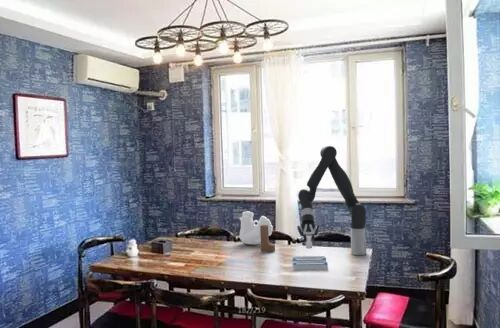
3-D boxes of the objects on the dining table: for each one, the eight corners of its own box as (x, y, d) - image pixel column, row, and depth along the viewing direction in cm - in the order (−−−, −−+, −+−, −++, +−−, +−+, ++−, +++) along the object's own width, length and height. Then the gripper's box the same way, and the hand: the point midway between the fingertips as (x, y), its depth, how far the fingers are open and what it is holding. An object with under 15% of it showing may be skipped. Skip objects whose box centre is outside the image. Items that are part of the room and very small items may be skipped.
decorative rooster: (236, 245, 306) (235, 212, 305) (245, 241, 321) (243, 209, 320) (268, 248, 297) (266, 213, 295) (275, 242, 311) (274, 210, 310)
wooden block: (275, 250, 288) (274, 225, 287) (273, 252, 284) (272, 226, 283) (263, 249, 292) (262, 224, 291) (260, 251, 288) (259, 225, 287)
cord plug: (312, 246, 249) (311, 232, 249) (312, 248, 245) (312, 233, 245) (305, 246, 249) (305, 232, 249) (306, 248, 246) (305, 233, 245)
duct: (324, 259, 262) (324, 253, 262) (327, 269, 242) (327, 262, 241) (292, 259, 264) (292, 253, 264) (293, 269, 243) (292, 262, 243)
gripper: (296, 213, 255) (297, 237, 243) (319, 213, 253) (321, 237, 242) (296, 220, 260) (297, 244, 249) (319, 220, 259) (321, 244, 247)
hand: (309, 241), depth 245 cm, fingers closed on cord plug, 3 cm apart
